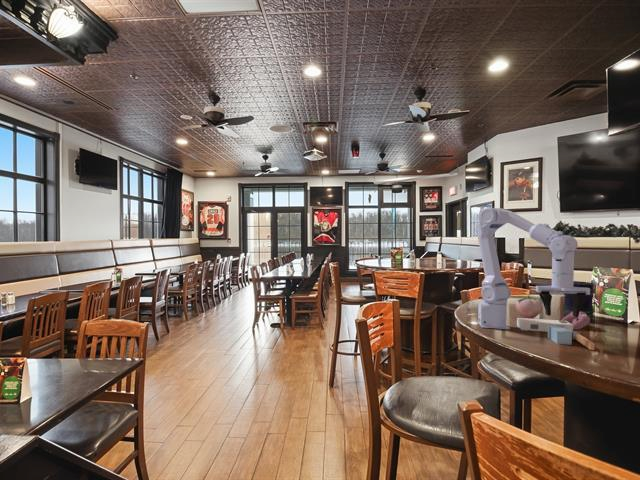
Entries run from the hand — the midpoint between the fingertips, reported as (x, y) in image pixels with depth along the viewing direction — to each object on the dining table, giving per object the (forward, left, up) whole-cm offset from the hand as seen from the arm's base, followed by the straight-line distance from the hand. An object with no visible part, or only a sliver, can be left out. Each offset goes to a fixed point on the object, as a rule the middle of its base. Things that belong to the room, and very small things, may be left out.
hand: (561, 315), depth 113 cm
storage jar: (+19, +36, -9) cm, 42 cm away
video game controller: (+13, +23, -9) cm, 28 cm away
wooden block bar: (+6, -1, -8) cm, 10 cm away
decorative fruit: (-1, +30, -9) cm, 32 cm away
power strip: (0, +15, -8) cm, 18 cm away
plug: (0, +1, -8) cm, 9 cm away
